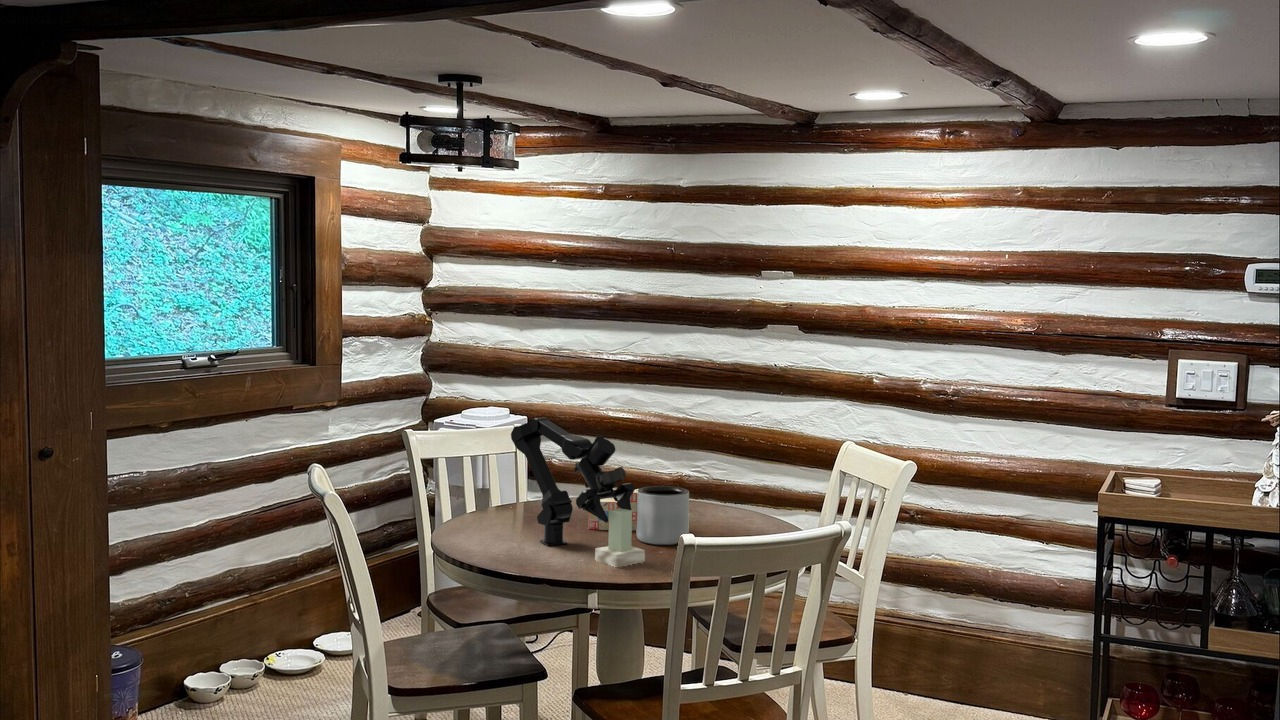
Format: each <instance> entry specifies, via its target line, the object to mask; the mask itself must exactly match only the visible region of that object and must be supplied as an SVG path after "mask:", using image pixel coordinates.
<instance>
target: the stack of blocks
mask: <svg viewBox="0 0 1280 720" xmlns="http://www.w3.org/2000/svg"><path fill="white" fill-rule="evenodd" d="M638 489H639V488H637V489H636V488H635V491H634V492H633V494H632V495H631V497H630V504H631V510H632V531H636V530H637V496H638ZM600 503H601V506H602V507H603V509H604V511H605V513H606V515H607V517H608V520H609V510H614V509H619V506H618V505H617V504H616V503H617V501H615V500H614V498H613V497H612V498H606V499H600ZM589 529H591V530H590V531H595V529H596V531H609V521H608V522H607V523H605V522H604V521H602V520H601V519H599V518H598V517H596V516H595V515H593V514H591V513H589V512H588V530H589Z"/></svg>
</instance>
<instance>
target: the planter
mask: <svg viewBox="0 0 1280 720" xmlns="http://www.w3.org/2000/svg"><path fill="white" fill-rule="evenodd" d="M637 489H638V496H637V530H635V531H636V534H635V535H636V539H637V540H639V541H640V542H641V543H644V544H647V545H648V544H649V545H653V546H654V545H655V546H674V545H675V544H676V545H678V544H677V543H678V540H679V537H680V535H681V534H686V533H689V534H690V532H689V531H690V525H689V523H690V517H689V516H690V515H689V513H690V491H689V490H688V489H686V488H684V487H679V486H671V485H653V486H645V487H640V488H637Z"/></svg>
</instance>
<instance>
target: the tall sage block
mask: <svg viewBox="0 0 1280 720" xmlns="http://www.w3.org/2000/svg"><path fill="white" fill-rule="evenodd" d="M632 531H633V530H632V510H626V509H621V508H619V509H614V510H609V530H608V544H607V546H608V549H610V550H615V551H619V552H622V551H626V550H630V549H631V546H632V539H633V538H632Z"/></svg>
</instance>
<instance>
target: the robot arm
mask: <svg viewBox="0 0 1280 720" xmlns="http://www.w3.org/2000/svg"><path fill="white" fill-rule="evenodd" d="M541 437H545V438H547V439H548V440H549V441H551V442H553V443H555V445H557V446H559V447H560V448H561V452H562V453H563V455H565V456H566V457H567V458H568V459H569V460H571V461H573V460H580V461H579V462H575V465H574V469H573V473H581V475H582V477H583V478H584V481H585V482H586V483H585V484H584V486H585V488H586V489H583V490H582V491H581V492H580V494H579V495H578V496H577V497H576V500H575V505H576V506H577V507H578V509H579V510H583V511H586V512H588V514H589V513H591V514H593V515H595V516H596V517H598V518H599V519H601V520H602V521H604V522H605V523H607V522H608V521H609V520H608V517H607V515H606V513H605V511H604V509H603V507H602V506H601V503H600V499H606V498H614V500H615V501H617V503H616V504H617V505H618V506H619V508H621V509H626V510H631V504H630V497H631V495H632V494H633V492H634V491H635V489H636V488H635V486H634V485H633V483H631V482H627V483H626V482H625V483H621V484H619V486H618V484H617V483H619V482H623V481H624V478H626V477H627V472H626V471H625V469H624V468H623V467H622V466H619V467H616V468H614V469H613V470H609V471H604V470H603V469H602V466H605V465H606V463H607V462H608V461H609V460H610V459H611V457H612V456H613V454H615V452H616V446H615V444H614V443H613V442H611V441H610V440H608V439H607V438H605V437H604V435H597V436H596V437H595V439H594V441H593V442H591V440H590V439H588V438H586V437H583V436H579V435H575V434H572V433H570V432H568V431H566V430H565V429H563V428H561V426H559V425H557V424H555V422H553V421H551V420H550V419H549V418H548V417H545V416H544V417H534V418H533V419H532V420H530V421H528V422H526V423H523V424H521V425H517V426H516V425H515V426H514V427H513V428H512V430H511V433H510V439H511V441H512V443H513V445H514V446H515V448H516V449H517V450H518V451H520V453H522V454H523V455H524V456H525V458H526V460H527V462H528V464H529V465H528V466H529V468H530V469H531V472H532V474H533V476H534V478H535V481H536V483H537V485H538V487H539V490H540V492H541V494H542V499H541V507H542V509H541V511H540V513H539V514H538V515H537V517H536V519H537V523H538V524H539V525H543V529H544V531H543V539H540V540H539V542H540V543H542V544H543V545H544V546H547V547H551V546H552V547H553V546H561V545H567V544H568V542H567V541H565V540H564V524H565V523H570V520H571V518H572V517H571V516H572V514H573V511H574V510H573V509H574V507H573V505H572V504H573V503H572V502H573V501H572V499H571V498H570V495H569V492H568V491H567V490H560V489H559V488H558V486H557V483H556V481H555V479H554V476H553V474H552V472H551V470H550V467H549V466H548V464H547V461H546V459H545V456H544V454H543V452H542V450H541V443H542V438H541ZM616 486H618V487H617V488H616V489H614V488H615V487H616Z"/></svg>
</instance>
